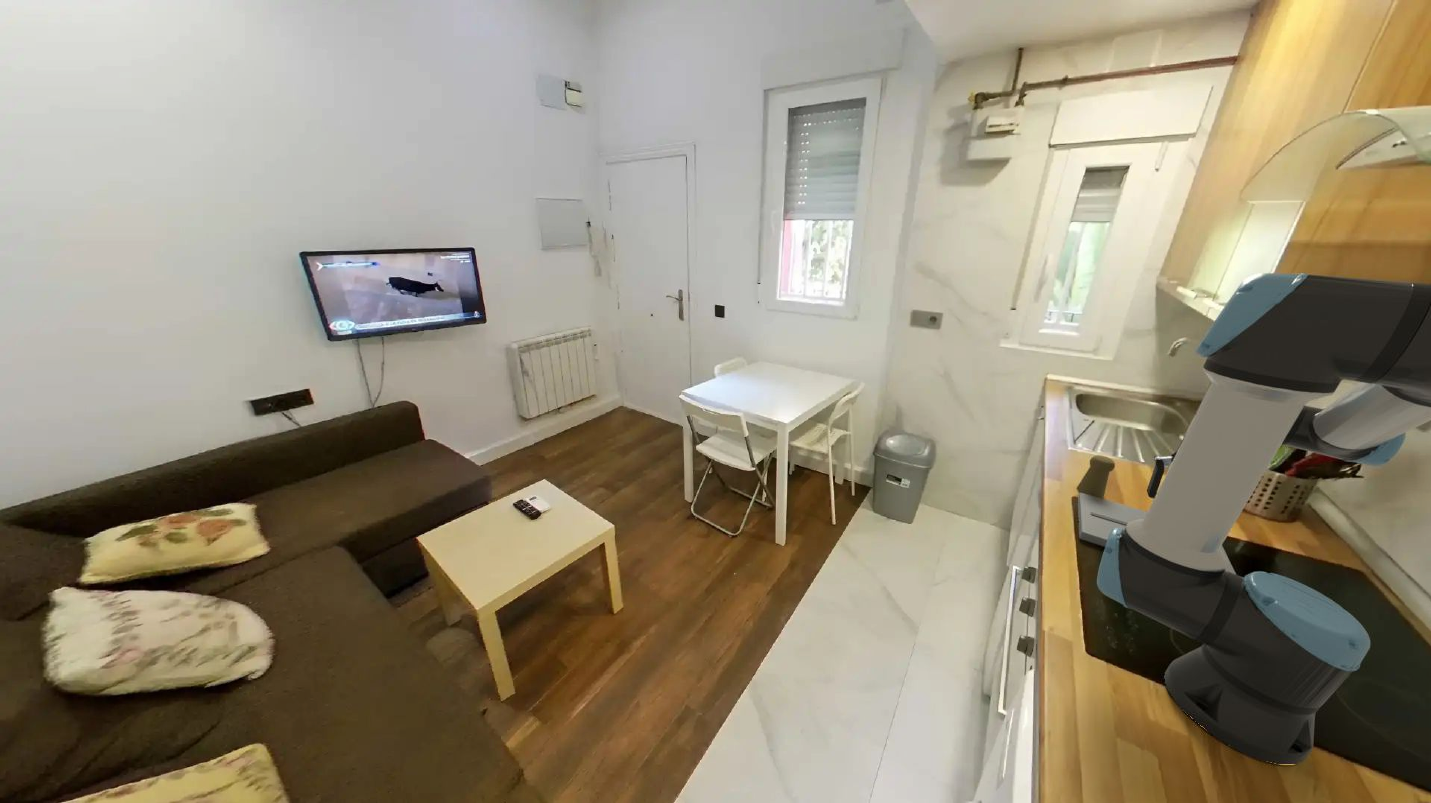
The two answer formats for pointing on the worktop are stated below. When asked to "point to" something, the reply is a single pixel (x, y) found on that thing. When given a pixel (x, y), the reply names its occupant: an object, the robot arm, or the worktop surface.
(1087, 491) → the cork
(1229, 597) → the robot arm
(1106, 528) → the console
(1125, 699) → the worktop surface
